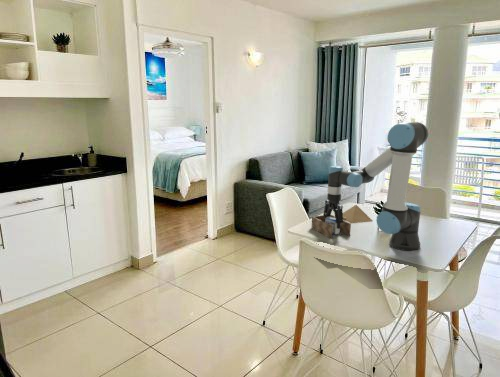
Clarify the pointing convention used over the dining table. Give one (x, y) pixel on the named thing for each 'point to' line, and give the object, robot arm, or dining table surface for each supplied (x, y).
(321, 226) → the open wooden shelf
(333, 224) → the medicine box
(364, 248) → the dining table surface
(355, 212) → the model pyramid
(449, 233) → the dining table surface
